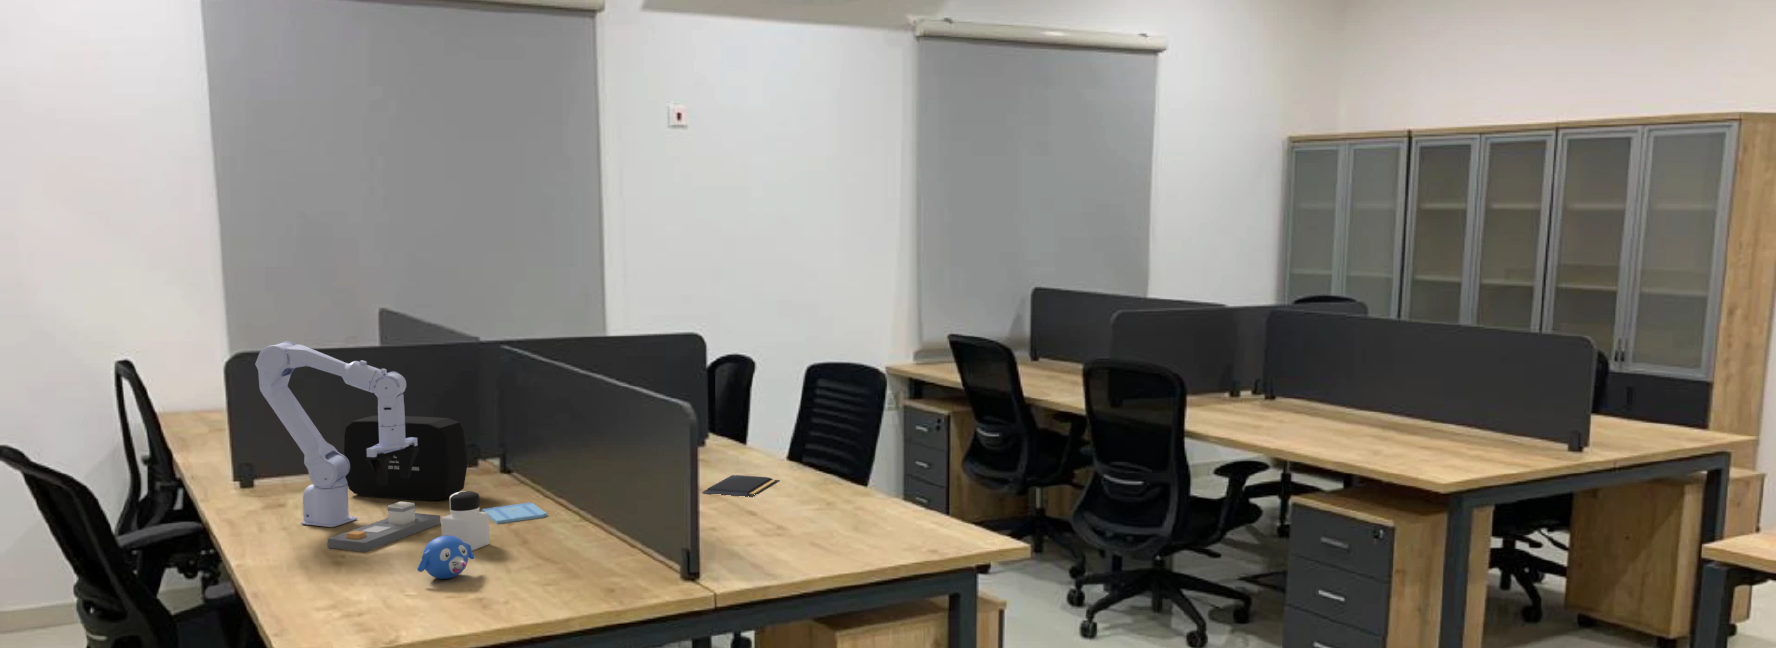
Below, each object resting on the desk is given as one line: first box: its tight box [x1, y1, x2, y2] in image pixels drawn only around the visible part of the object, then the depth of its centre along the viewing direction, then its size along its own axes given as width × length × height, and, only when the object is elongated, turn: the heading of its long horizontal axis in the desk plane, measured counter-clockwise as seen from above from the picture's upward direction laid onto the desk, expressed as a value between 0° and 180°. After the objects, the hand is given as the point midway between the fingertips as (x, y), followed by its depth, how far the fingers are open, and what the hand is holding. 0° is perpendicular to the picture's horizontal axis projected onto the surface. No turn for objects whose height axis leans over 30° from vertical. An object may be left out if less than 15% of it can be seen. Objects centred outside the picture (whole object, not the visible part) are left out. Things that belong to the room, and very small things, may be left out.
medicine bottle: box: [440, 490, 490, 552], centre depth 253 cm, size 7×7×12 cm
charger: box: [387, 501, 416, 525], centre depth 267 cm, size 4×4×6 cm
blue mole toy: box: [417, 535, 476, 580], centre depth 231 cm, size 12×12×8 cm
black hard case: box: [343, 415, 469, 501], centre depth 301 cm, size 30×12×20 cm, turn 76°
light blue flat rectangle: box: [481, 502, 548, 525], centre depth 282 cm, size 14×12×1 cm
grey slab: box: [327, 512, 441, 553], centre depth 263 cm, size 24×10×3 cm, turn 162°
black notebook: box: [701, 474, 781, 498], centre depth 310 cm, size 20×2×15 cm
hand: (394, 481), depth 275 cm, fingers open, 7 cm apart
